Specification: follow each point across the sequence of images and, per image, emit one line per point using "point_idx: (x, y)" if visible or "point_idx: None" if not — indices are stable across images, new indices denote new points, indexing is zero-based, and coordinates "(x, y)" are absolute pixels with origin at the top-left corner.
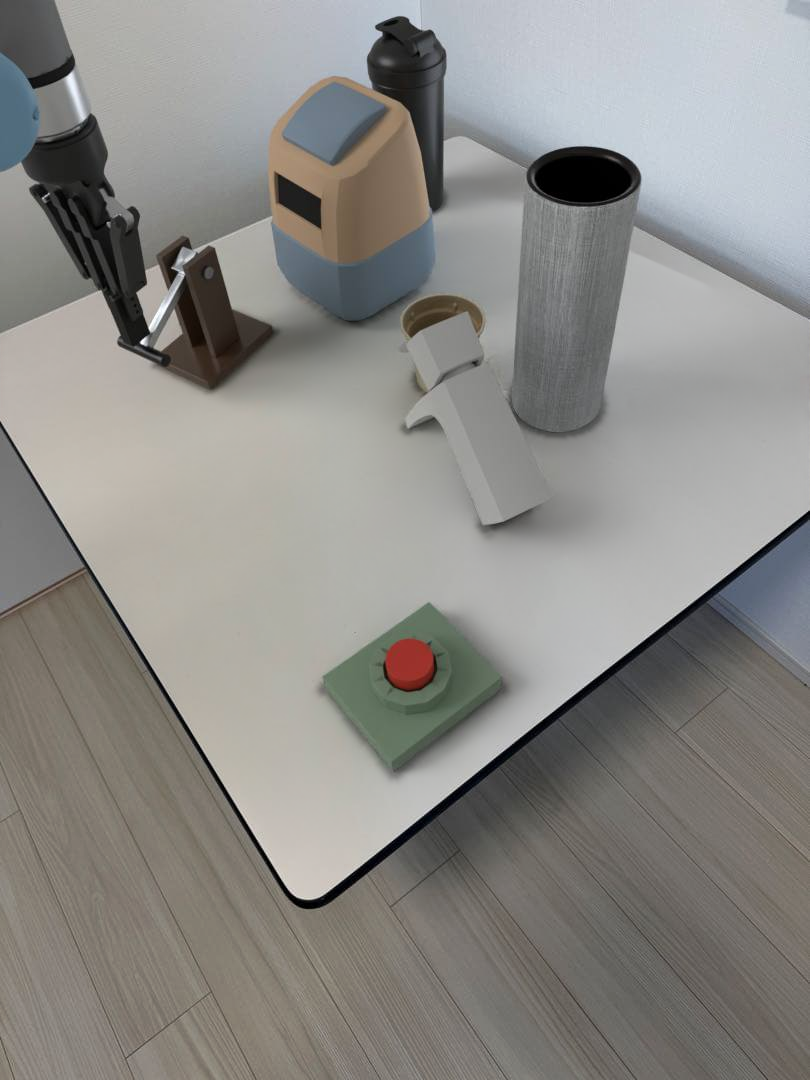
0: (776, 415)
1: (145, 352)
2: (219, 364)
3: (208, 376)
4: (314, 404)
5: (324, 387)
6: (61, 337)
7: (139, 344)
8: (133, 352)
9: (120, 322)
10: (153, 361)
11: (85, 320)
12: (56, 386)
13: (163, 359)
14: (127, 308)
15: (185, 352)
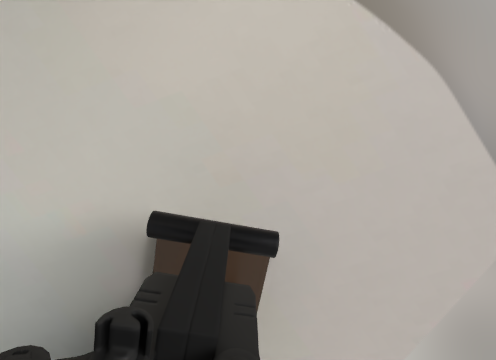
0: None
1: (196, 227)
2: (165, 272)
3: (164, 246)
4: (7, 251)
5: (16, 283)
6: (445, 250)
7: None
8: (234, 224)
9: (200, 257)
10: (176, 215)
11: (427, 290)
12: (396, 159)
13: (148, 222)
14: (147, 302)
15: (229, 277)
